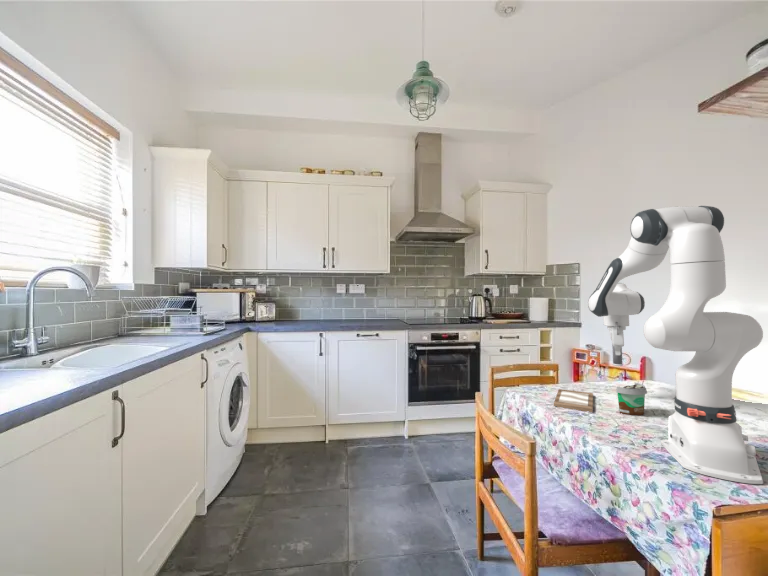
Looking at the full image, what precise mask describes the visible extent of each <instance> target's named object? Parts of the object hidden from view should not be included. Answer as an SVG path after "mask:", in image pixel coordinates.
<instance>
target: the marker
mask: <svg viewBox="0 0 768 576" xmlns="http://www.w3.org/2000/svg"><path fill="white" fill-rule="evenodd" d="M611 343H612V342H611ZM611 345H612V346H611V347H612V365H613V366H616V367H617V366H618V367H622V366H623V365H624V364H623V350H622V349H623V347H621V355H616V354H615V346H613V343H612V344H611Z"/></svg>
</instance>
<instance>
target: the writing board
mask: <svg viewBox="0 0 768 576" xmlns="http://www.w3.org/2000/svg"><path fill="white" fill-rule="evenodd" d="M556 393H557V394H556V396H555V399H554V402H553V407H554V406H557V407H556V408H560V407H563V408H562V409H566V408H570V409H569V410H573V409H576V410H575V411H580V410H581V411H582V412H587V411H589V412H588V413H593V410H594V408H593V407H594V393H593V392H588V391H586V392H585V391H578V390H571V389H569V390H568V389H561V388H559V389H558V390H557V392H556Z"/></svg>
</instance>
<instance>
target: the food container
mask: <svg viewBox="0 0 768 576" xmlns="http://www.w3.org/2000/svg"><path fill="white" fill-rule="evenodd" d="M615 392H616V393H617V401H618V411H619V414H621V413H622V414H621V415H626V416H631V417H632V416H633V417H640V416H641V415H642V416H644V414H645V398H646V394H648V390H647V388H646V386H645V385H644V384H642V383H639V382H634V384H632V385H625V386H624V387H621V386H616V390H615Z"/></svg>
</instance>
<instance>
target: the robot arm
mask: <svg viewBox="0 0 768 576" xmlns="http://www.w3.org/2000/svg"><path fill="white" fill-rule="evenodd" d="M724 226H725V216H724V215H723V212H722V211H721V210H720V209H719V208H717V207H715V206H710V205H699V206H667V207H666V206H665V207H660V208H656V209H654V208H650V209H644V210H642V211H639V212H637V213H636V214H635V215H634V216H633V218H632V219H631V222H630V227H629V229H630V235H631V237H630V240H629V242H628V244H627V247H626V248H625V249H624V251H623V252H622V253H621V254H620V255H619V256H618V257H616V258H615V259H613V260H612V261H611V262H610V263H609V264H608V266H607V268H606V270H605V272H604V273H603V275H602V277H601V279H600V280H599V283H598V285H597V286H596V289H595V290H594V291H593V292H592V293H591V295H590V296H589V298H588V302H587V306H588V307H587V308H588V310H589V311H590V312H591V313H592V314H594V315H596V316H597V317H603V319H602V320H603V326H606V327H607V330H609V336H610V339H611V343H613V346H615V354H616V355H621V347H622V348H623V347H624V345H625V338H624V337H625V336H624V331H626V329H627V327H629V326H630V316H635V315H639V314H641V313H642V312H643V311H644V309H645V303H646V302H645V297H644V296H643V295H642V294H641V293H640V292H638V291H634V290H631V289H629V288H628V287H627V286H628V285H626V283H624V282H623V283H622V282H620V281H621V280H623V279H625V278H628V277H630V276H634V275H636V274H640V273H646V272H648V271H651V270H654V269H655V268H657V267H658V266H660V265H661V264H662V262H663V261H664V259H665V257H666V256H667V253H668V250H669V252H670V253H669V269H670V270H669V273H670V279H669V280H670V281H669V292H668V295H667V298H666V299H665V301H664V302H663V305H662V306H661V307H660V309H658V310H657V311H656V312H655V313H654V314H652V315H651V316H649V317H648V318H647V319H646V320H645V322H644V325H643V335H644V338H645V339H646V341H647V342H648V344H649V345H650V346H651V347H653V348H655V349H660V350H663V351H664V350H665V351H671V352H695V354H694V356H693V358H691V360H689V361H688V362H686V363H685V364H682V365H680V366H679V367H678V368H677V369H676V371H675V374H674V375H675V395H676V396H674V400H673V401H674V402H673V405H674V410H675V411H674V413H672V414H671V415H669V416H668V439H661V441H660V442H661V443H660V444H661V446H662V447H663V448H664V449H665V450H667V452H668V453H669V454H670V455H671V456H672V457H673V458H674V459H675V460H676V461H677V463H679V464H680V466H681V467H683V468H684V469H686V470H688V471H691V472H694V473H697V474H701V475H705V476H709V477H712V478H716V479H722V480H726V481H730V482H731V481H732V482H736V483H743V484H749V485H763V484H764V480H763V476H762V473H761V470H760V467H759V464H758V461H757V458H756V449H755V448H756V447H755V446H754V445H749V444H745V442H749V436H748V435H745V434H743V430H742V428H743V427H742V425H740V424H739V423H737V420H738V418H737V412H736V411H737V410H736V409H735V405H734V404H733V397H732V396H733V395H732V392H733V391H732V390H733V389H732V388H733V387H732V385H733V375H734V372H735V370H736V368H737V366H738V364H739V363H740V361H741V360H742V358H743V357H744V356H745V355H746V354H748V353H749V352H750V351H751V350H753V349H755V348H757V347H758V346H759V345H760V344H761V342H762V341H763V338H764V330H763V328H762V326H761V324H760V323H759V322H758V320H757V319H755V318H754V317H752V316H751V315H749V314H744V313H739V312H738V313H737V312H729V311H704V309H705V307H706V306H707V303H708V302H709V301H710V300H712V299H714V298H717V297H718V296H720V295H721V294H723V292H724V291H725V289H726V288H727V281H726V280H727V277H726V262H725V261H726V259H725V251H724V249H725V248H724V244H723V241H722V237H721V235H720V233H721V232H722V230H723V228H724Z"/></svg>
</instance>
